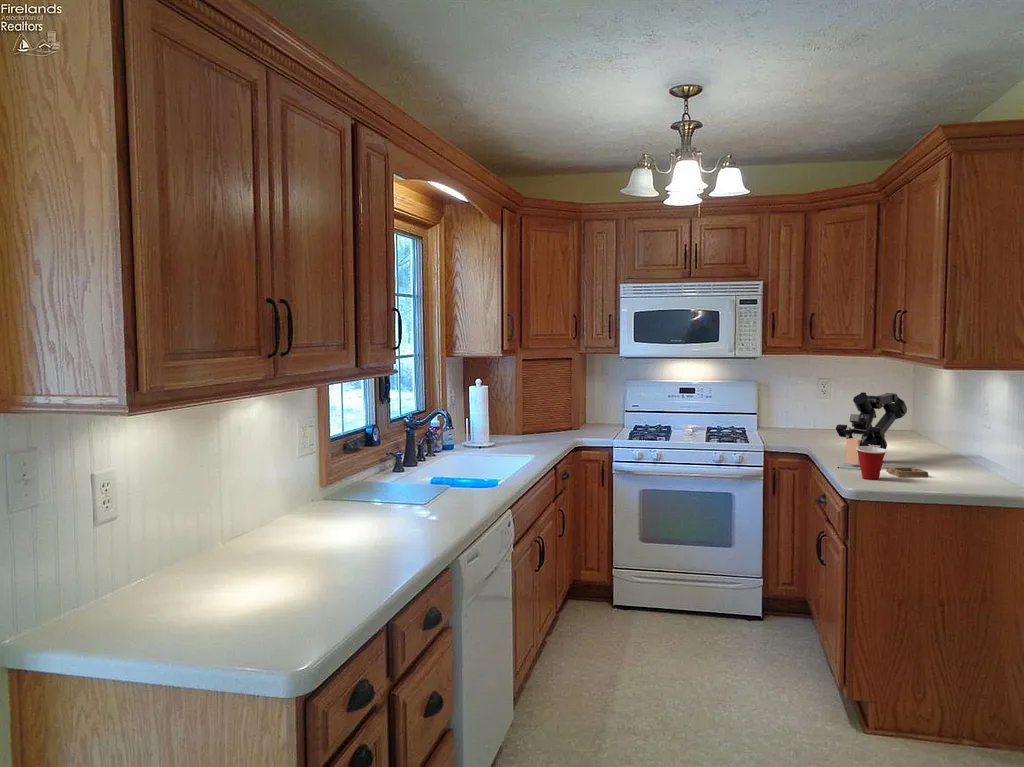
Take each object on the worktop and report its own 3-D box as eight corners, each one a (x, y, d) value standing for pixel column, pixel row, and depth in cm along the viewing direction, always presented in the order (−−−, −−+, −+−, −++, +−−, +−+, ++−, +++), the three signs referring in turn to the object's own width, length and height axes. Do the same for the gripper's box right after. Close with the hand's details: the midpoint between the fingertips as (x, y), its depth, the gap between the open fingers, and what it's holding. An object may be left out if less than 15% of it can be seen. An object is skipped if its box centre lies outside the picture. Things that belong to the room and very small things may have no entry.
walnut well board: (886, 472, 301) (886, 467, 301) (914, 472, 300) (914, 467, 300) (899, 477, 290) (899, 472, 290) (928, 477, 289) (928, 472, 289)
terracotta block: (851, 461, 316) (851, 438, 315) (863, 462, 312) (863, 439, 311) (846, 462, 313) (846, 439, 312) (857, 464, 309) (858, 440, 308)
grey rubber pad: (844, 464, 320) (844, 463, 320) (872, 467, 313) (872, 465, 313) (836, 468, 312) (836, 466, 312) (864, 470, 305) (864, 469, 305)
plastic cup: (869, 482, 281) (869, 450, 281) (849, 477, 292) (849, 446, 291) (893, 480, 284) (893, 449, 283) (872, 475, 295) (872, 445, 294)
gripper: (837, 405, 320) (825, 433, 314) (882, 408, 306) (870, 437, 300) (845, 422, 326) (833, 449, 320) (890, 425, 312) (878, 454, 306)
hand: (853, 447), depth 311 cm, fingers closed on terracotta block, 5 cm apart
